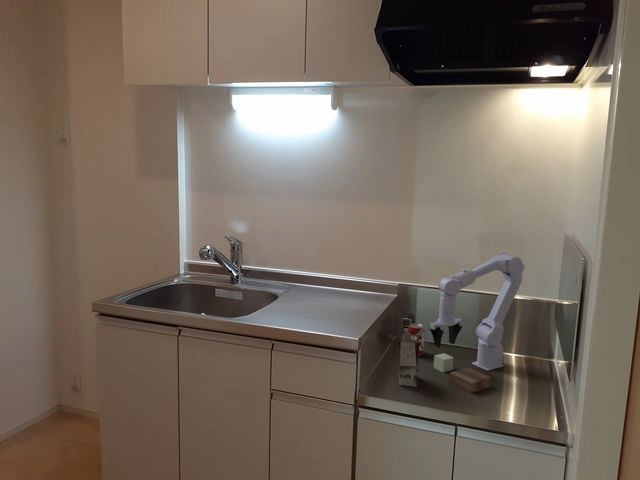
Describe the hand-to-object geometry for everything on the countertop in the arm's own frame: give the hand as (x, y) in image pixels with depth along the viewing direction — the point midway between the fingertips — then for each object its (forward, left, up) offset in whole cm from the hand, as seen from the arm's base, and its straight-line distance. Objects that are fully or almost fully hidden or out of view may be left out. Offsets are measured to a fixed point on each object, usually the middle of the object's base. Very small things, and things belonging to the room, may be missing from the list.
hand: (444, 344), depth 199 cm
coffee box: (+19, +2, -10) cm, 21 cm away
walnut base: (+2, +15, -10) cm, 18 cm away
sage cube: (0, 0, -10) cm, 10 cm away
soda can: (-1, -17, -10) cm, 20 cm away
